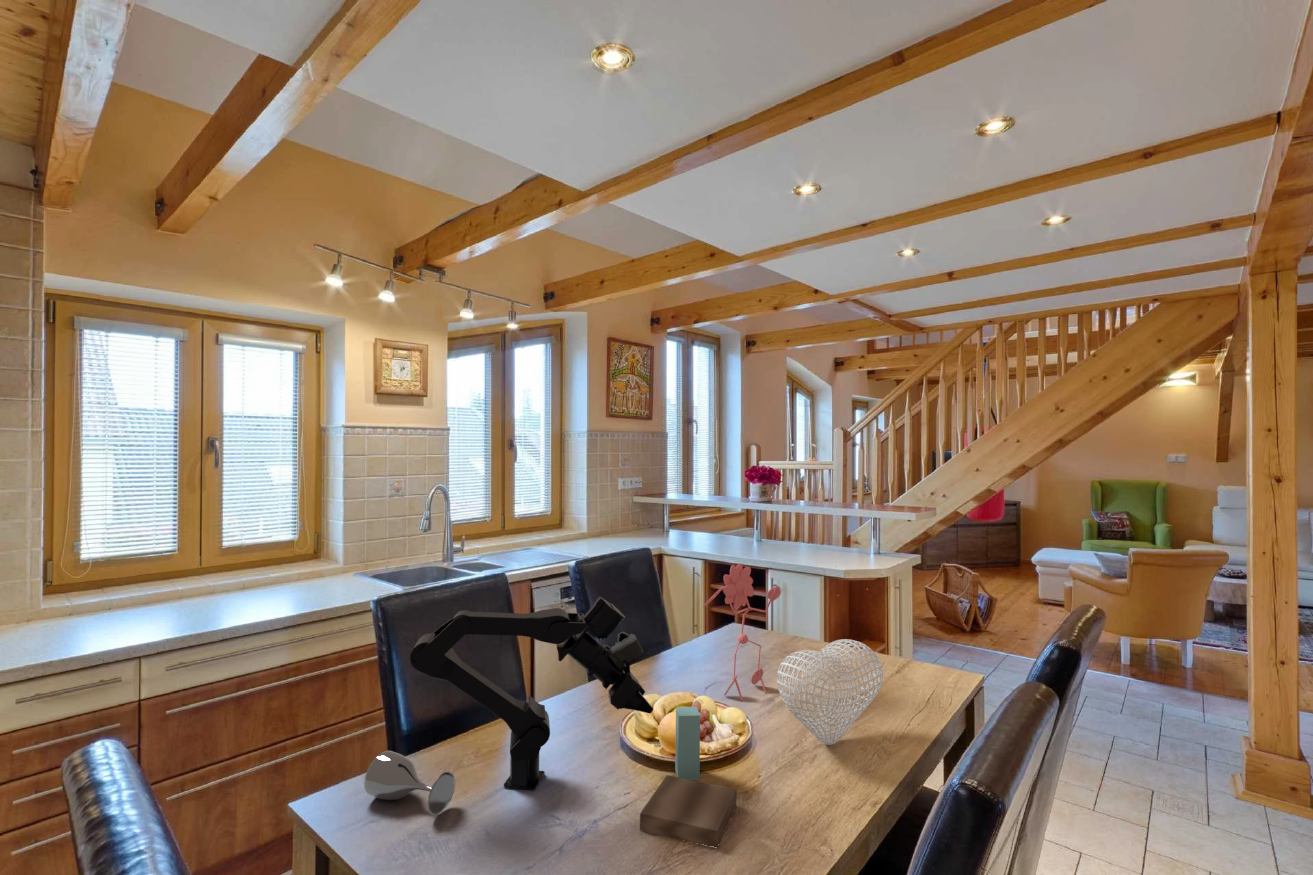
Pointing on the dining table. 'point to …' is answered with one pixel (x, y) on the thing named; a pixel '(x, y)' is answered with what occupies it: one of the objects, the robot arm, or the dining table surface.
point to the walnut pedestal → (689, 811)
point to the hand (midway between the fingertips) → (647, 702)
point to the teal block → (687, 743)
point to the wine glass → (405, 781)
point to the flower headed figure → (737, 593)
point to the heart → (829, 655)
